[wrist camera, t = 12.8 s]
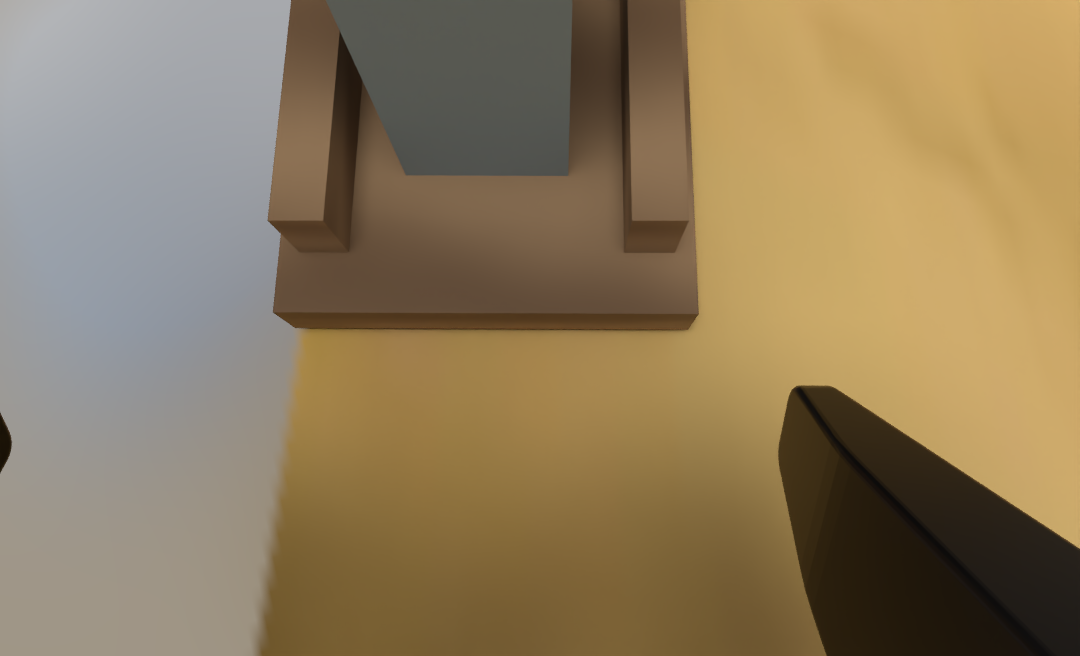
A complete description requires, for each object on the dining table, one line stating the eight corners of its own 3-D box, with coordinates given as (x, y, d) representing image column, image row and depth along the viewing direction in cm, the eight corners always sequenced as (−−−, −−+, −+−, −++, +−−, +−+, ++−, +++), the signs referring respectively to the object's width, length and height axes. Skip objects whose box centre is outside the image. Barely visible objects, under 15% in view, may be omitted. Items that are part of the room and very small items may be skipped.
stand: (687, 329, 19) (716, 288, 15) (295, 327, 19) (237, 287, 16) (672, -71, 22) (693, -180, 18) (332, -67, 22) (290, -174, 18)
